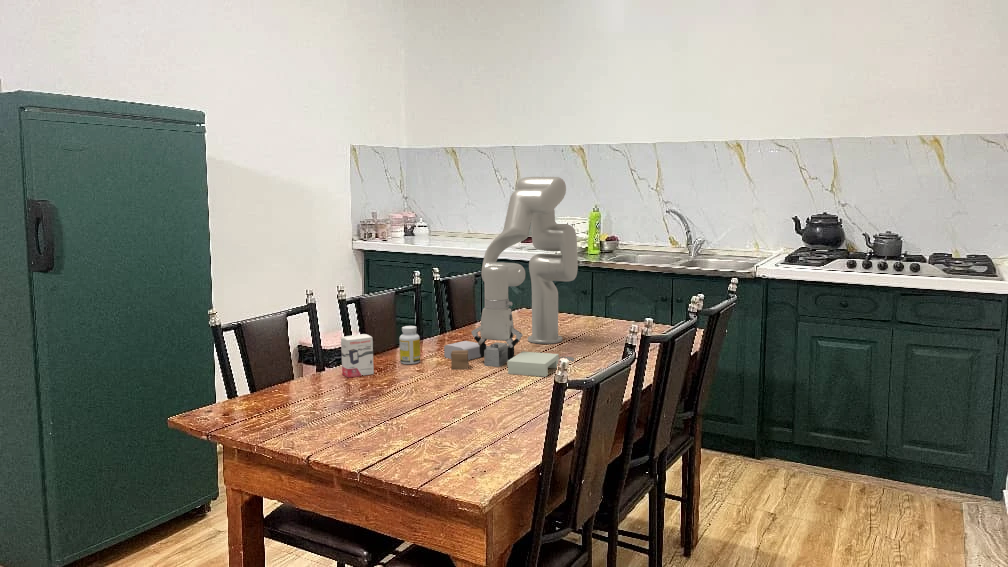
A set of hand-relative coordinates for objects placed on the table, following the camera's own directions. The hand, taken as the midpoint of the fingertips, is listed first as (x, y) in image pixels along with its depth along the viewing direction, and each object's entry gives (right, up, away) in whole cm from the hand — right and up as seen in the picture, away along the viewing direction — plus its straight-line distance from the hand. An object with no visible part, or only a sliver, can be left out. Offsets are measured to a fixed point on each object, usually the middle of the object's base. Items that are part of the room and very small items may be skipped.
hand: (496, 357), depth 257 cm
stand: (+11, -3, -9) cm, 15 cm away
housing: (0, -2, 0) cm, 2 cm away
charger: (-9, -1, +11) cm, 14 cm away
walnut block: (-12, -3, -5) cm, 13 cm away
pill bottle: (-28, -2, +2) cm, 28 cm away
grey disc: (+23, -2, +3) cm, 23 cm away
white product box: (-42, -4, -12) cm, 44 cm away
